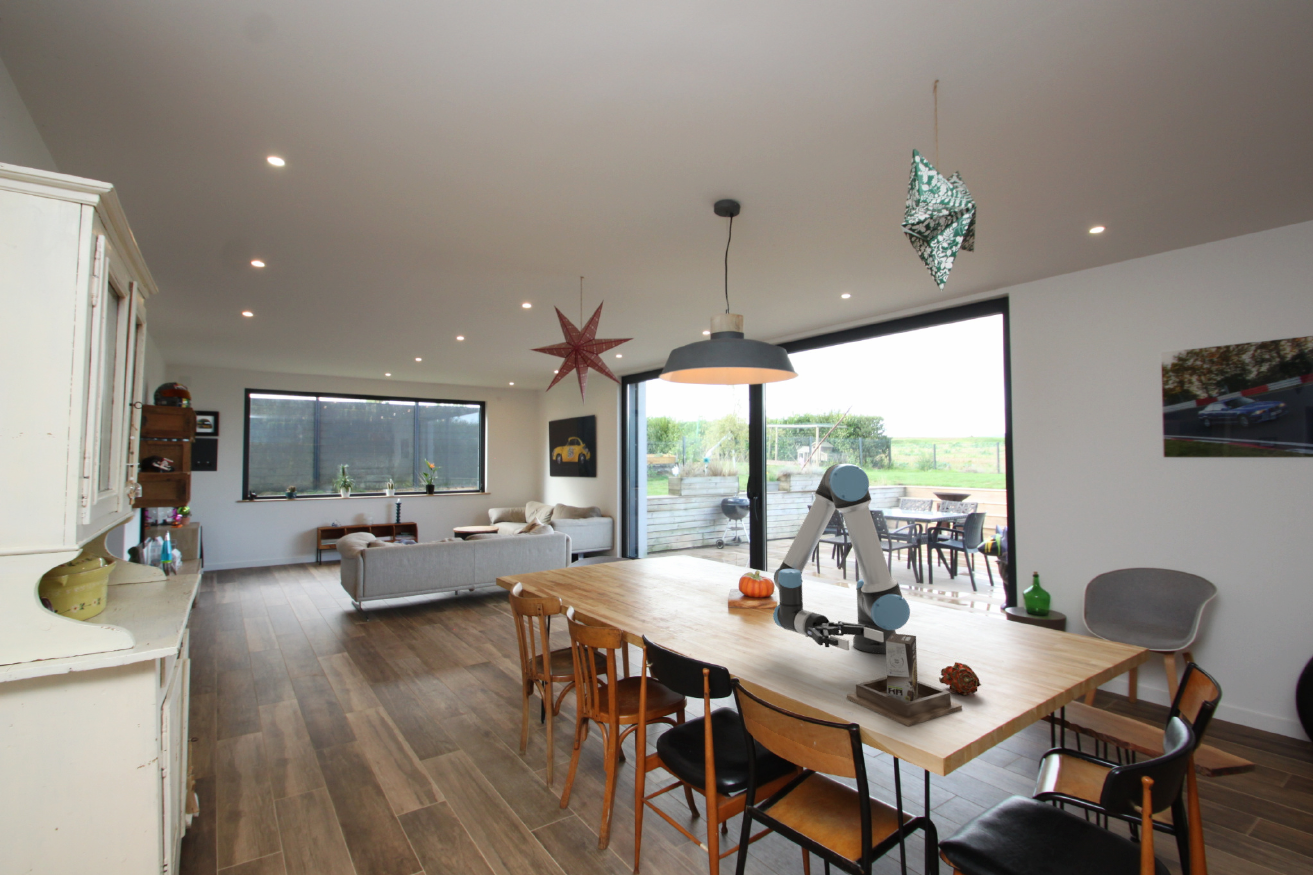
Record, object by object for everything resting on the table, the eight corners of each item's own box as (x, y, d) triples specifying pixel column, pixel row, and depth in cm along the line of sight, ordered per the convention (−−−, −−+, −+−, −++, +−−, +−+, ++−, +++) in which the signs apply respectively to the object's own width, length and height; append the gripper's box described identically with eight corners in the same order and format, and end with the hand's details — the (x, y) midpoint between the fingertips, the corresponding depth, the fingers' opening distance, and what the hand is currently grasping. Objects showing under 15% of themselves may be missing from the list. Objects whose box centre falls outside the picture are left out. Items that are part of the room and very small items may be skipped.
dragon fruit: (977, 707, 161) (944, 697, 172) (994, 684, 164) (960, 676, 175) (958, 682, 161) (926, 674, 172) (976, 659, 164) (943, 653, 175)
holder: (898, 684, 174) (897, 670, 174) (961, 709, 156) (961, 693, 156) (846, 698, 164) (846, 683, 165) (908, 726, 147) (907, 709, 147)
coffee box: (913, 708, 155) (911, 644, 156) (886, 703, 158) (884, 640, 159) (919, 696, 163) (917, 635, 163) (893, 691, 166) (891, 631, 167)
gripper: (842, 630, 196) (896, 646, 177) (782, 644, 184) (833, 663, 165) (841, 607, 196) (895, 620, 178) (781, 618, 184) (832, 635, 166)
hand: (865, 641), depth 171 cm, fingers open, 13 cm apart
